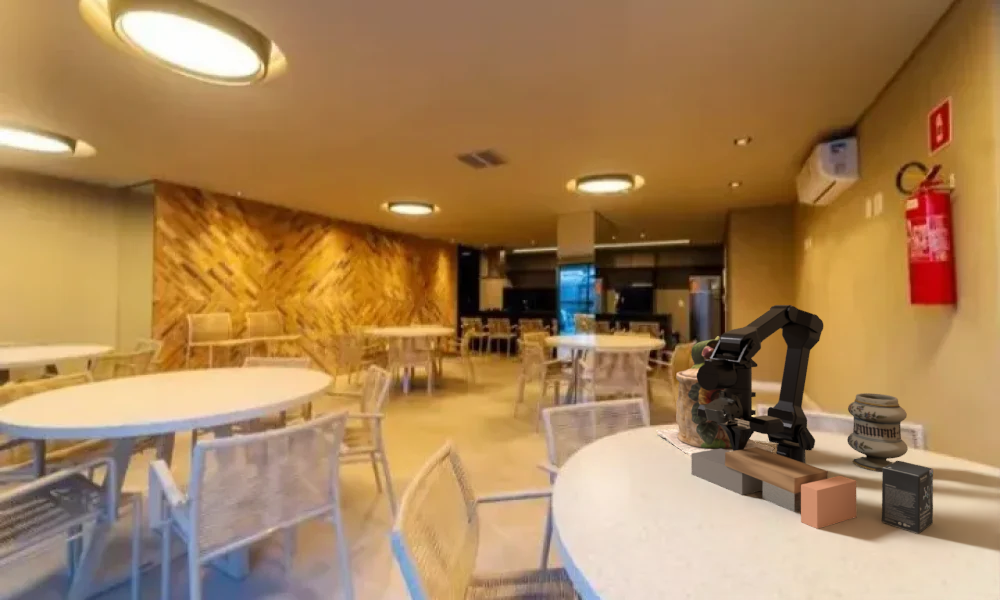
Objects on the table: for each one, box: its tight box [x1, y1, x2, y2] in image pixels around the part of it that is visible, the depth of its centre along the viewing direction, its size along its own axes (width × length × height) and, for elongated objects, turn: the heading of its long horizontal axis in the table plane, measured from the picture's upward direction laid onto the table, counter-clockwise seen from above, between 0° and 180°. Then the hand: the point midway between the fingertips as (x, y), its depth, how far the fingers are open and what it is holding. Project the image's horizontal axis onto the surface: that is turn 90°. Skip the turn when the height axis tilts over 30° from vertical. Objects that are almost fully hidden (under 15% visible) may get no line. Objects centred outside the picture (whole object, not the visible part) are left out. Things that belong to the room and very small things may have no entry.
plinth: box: [691, 449, 763, 496], centre depth 111 cm, size 10×14×5 cm
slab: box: [725, 447, 829, 494], centre depth 101 cm, size 10×16×3 cm, turn 24°
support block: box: [762, 481, 801, 513], centre depth 98 cm, size 5×7×5 cm
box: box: [881, 460, 934, 534], centre depth 90 cm, size 8×6×11 cm
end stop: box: [800, 475, 857, 530], centre depth 91 cm, size 12×3×7 cm, turn 114°
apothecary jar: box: [846, 392, 909, 472], centre depth 122 cm, size 12×12×18 cm
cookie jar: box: [656, 335, 776, 457], centre depth 141 cm, size 25×25×32 cm
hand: (737, 454), depth 109 cm, fingers closed
